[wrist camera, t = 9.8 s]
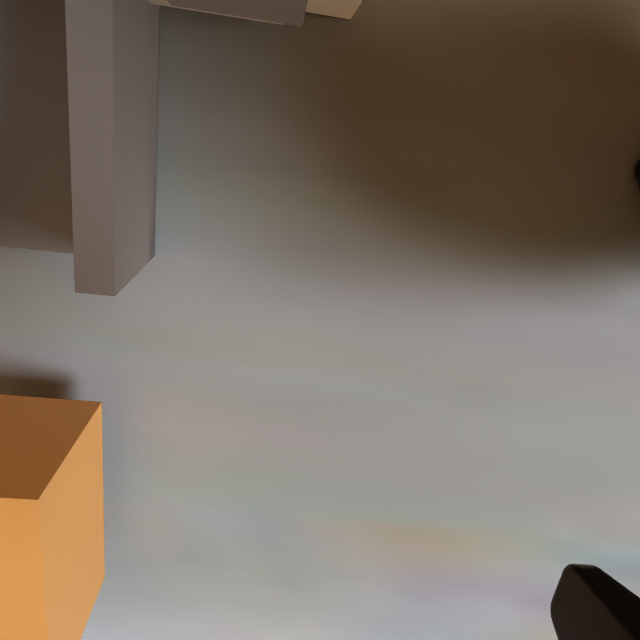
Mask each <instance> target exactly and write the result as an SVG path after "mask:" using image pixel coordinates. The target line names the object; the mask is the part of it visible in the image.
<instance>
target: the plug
mask: <svg viewBox="0 0 640 640" xmlns="http://www.w3.org/2000/svg"><path fill="white" fill-rule="evenodd" d="M104 578H105V564H104V506H103V449H102V402H93V401H80V400H67V399H54V398H41V397H28V396H15V395H2V394H0V640H80V639H81V636H82V634H83V631H84V629H85V626H86V624H87V621H88V619H89V616H90V613H91V611H92V608H93V606H94V603H95V601H96V598H97V596H98V593H99V591H100V588H101V585H102V583H103V580H104Z"/></svg>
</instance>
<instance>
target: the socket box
mask: <svg viewBox="0 0 640 640" xmlns="http://www.w3.org/2000/svg"><path fill="white" fill-rule="evenodd" d="M362 1H363V0H0V245H1V246H10V247H19V248H29V249H38V250H47V251H56V252H66V253H74V278H75V292H78V293H89V294H99V295H109V296H115V295H116V294H117V293H118V292H119V291H120V290H121V289H122V288H123V287H124V286H125V285H126V284H127V283H128V282H129V281H130V280H131V279H132V278H133V277H134V276H135V275H136V274H137V273H138V272H139V271H140V270H141V269H142V268H143V267H144V266H145V265H146V264H147V263H148V262H149V261H150V260H151V259H152V258H153V257H154V249H155V200H156V151H157V102H158V53H159V5H161V6H168V7H174V8H180V9H186V10H192V11H199V12H205V13H211V14H217V15H223V16H230V17H236V18H242V19H248V20H254V21H261V22H267V23H273V24H279V25H283V24H289V25H295V26H301V27H302V26H303V21H304V16H305V12H309V13H315V14H321V15H327V16H333V17H339V18H345V19H351V18H352V17H353V15H354V13H355V12H356V10H357V9H358V7H359V6H360V4H361V3H362Z"/></svg>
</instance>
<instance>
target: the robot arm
mask: <svg viewBox="0 0 640 640" xmlns="http://www.w3.org/2000/svg"><path fill="white" fill-rule="evenodd" d="M635 177H636V179H637V182H638V184H639V187H640V160H639V162H638V163H637V165H636V168H635ZM551 618H552V622H553V625H554V628H555V631H556V634H557V637H558V640H640V598H639V597H638V596H636V595H635V594H634V593H632V592H631V591H630V590H628V589H627V588H626V587H624V586H623V585H622V584H620V583H619V582H617V581H616V580H615V579H613V578H612V577H611V576H609V575H608V574H607V573H605V572H604V571H603V570H601V569H600V568H598V567H596V566H594V565H586V564H569V565H568V566H566V567H565V568H564V570H563V572H562V575H561V578H560V580H559V583H558V585H557V588H556V591H555V593H554V596H553V599H552V602H551Z"/></svg>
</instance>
